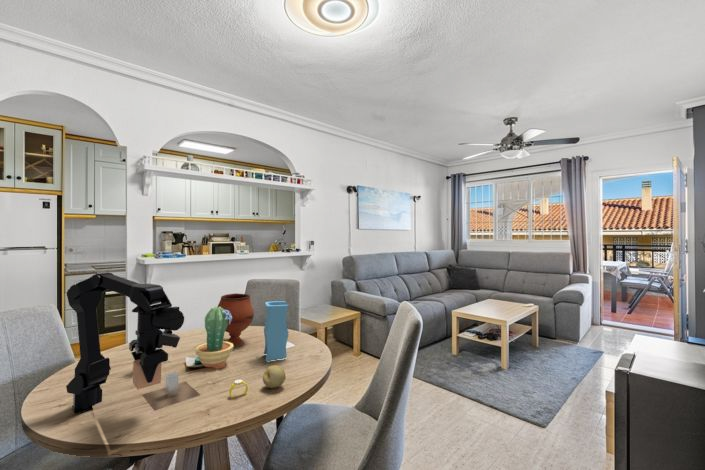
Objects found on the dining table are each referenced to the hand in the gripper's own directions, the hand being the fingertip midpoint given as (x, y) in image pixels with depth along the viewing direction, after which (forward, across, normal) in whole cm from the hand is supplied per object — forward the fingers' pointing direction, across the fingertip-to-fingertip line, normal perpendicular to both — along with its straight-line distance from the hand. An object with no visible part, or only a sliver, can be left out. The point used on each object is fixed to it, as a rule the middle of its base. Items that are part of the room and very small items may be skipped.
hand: (146, 378), depth 96 cm
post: (+11, +8, -9) cm, 17 cm away
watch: (+12, -8, -26) cm, 29 cm away
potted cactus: (+12, +26, -31) cm, 42 cm away
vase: (+12, +16, -55) cm, 59 cm away
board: (+12, +8, -9) cm, 17 cm away
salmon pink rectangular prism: (+1, 0, 0) cm, 1 cm away
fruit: (+12, -9, -39) cm, 42 cm away
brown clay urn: (+12, +46, -50) cm, 69 cm away
